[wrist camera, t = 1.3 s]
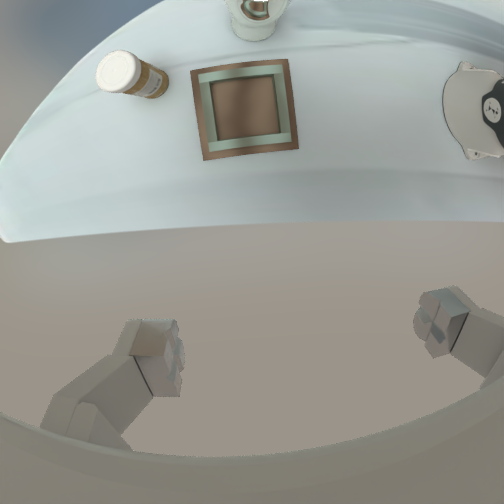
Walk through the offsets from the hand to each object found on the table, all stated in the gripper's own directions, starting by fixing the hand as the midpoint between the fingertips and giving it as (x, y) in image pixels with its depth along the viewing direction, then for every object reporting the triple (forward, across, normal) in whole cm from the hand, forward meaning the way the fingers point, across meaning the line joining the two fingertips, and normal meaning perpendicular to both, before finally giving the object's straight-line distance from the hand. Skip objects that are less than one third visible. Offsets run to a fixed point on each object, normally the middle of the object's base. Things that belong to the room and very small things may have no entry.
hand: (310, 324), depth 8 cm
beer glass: (+33, -2, -22) cm, 39 cm away
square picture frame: (+33, 0, -8) cm, 34 cm away
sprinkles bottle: (+33, +13, -14) cm, 38 cm away
